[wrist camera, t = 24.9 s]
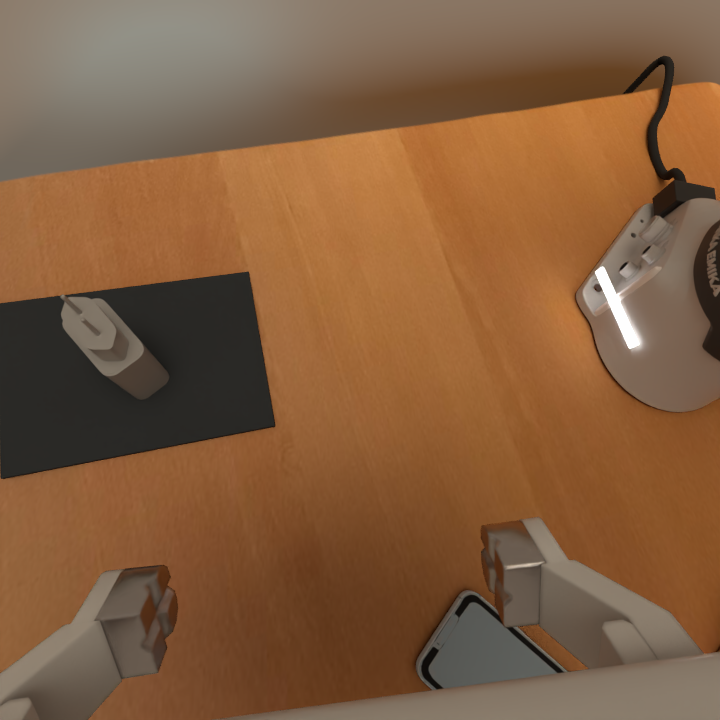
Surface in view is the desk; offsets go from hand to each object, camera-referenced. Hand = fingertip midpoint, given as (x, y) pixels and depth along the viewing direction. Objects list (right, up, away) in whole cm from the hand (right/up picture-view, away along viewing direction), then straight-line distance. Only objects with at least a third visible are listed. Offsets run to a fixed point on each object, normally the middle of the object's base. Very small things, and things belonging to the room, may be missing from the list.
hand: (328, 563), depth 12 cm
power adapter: (-17, +5, +26) cm, 32 cm away
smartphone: (+12, -20, +24) cm, 33 cm away
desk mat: (-17, +5, +27) cm, 32 cm away
